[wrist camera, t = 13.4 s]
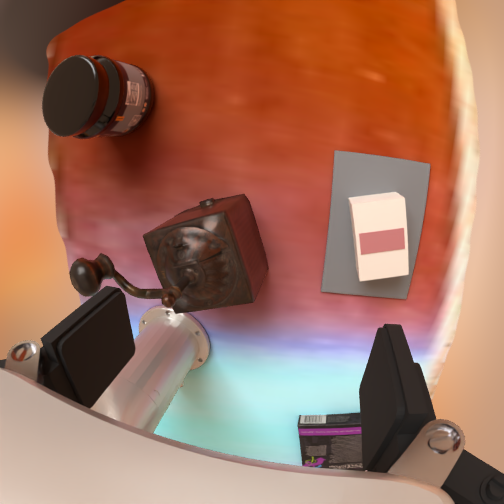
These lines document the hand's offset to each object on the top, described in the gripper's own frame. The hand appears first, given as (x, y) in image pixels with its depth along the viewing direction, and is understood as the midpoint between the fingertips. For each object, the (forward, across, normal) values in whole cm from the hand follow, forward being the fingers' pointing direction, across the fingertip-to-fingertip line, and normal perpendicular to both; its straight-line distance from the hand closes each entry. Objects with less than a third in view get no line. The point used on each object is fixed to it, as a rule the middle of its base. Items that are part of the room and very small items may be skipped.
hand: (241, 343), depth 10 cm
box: (+29, -13, +46) cm, 56 cm away
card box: (+28, -10, +3) cm, 30 cm away
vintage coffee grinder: (+29, +12, +7) cm, 32 cm away
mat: (+28, -10, +3) cm, 30 cm away
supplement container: (+28, +24, -13) cm, 39 cm away
